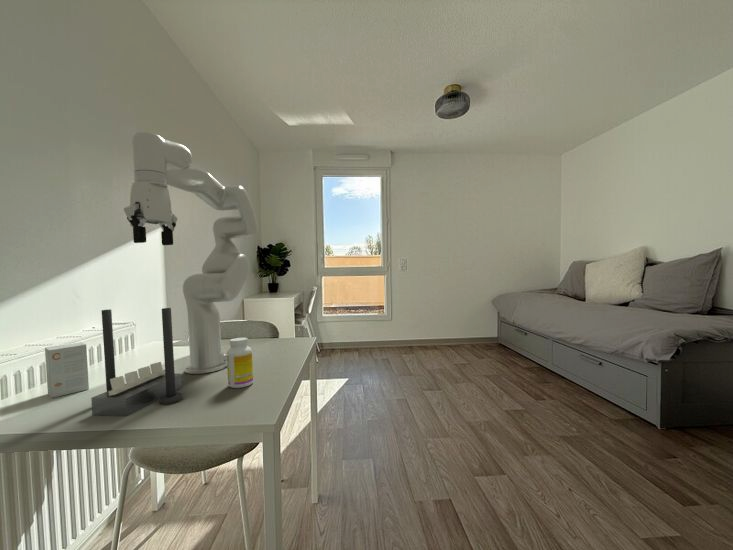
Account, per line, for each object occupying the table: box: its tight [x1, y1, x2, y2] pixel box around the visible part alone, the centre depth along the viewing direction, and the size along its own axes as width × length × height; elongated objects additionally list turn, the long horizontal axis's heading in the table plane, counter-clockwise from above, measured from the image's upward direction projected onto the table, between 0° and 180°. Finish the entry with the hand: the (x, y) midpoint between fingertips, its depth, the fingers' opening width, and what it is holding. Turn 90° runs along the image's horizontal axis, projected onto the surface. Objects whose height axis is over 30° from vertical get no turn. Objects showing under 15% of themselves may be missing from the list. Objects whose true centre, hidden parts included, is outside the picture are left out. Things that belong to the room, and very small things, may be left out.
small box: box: [44, 341, 90, 399], centre depth 94 cm, size 8×6×13 cm
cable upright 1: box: [101, 308, 117, 392], centre depth 86 cm, size 5×5×23 cm
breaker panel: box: [90, 373, 183, 417], centre depth 85 cm, size 18×9×4 cm, turn 171°
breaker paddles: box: [109, 361, 165, 396], centre depth 85 cm, size 16×2×4 cm, turn 171°
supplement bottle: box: [226, 337, 254, 389], centre depth 94 cm, size 7×7×13 cm
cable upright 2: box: [159, 307, 184, 406], centre depth 84 cm, size 5×5×23 cm
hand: (154, 243), depth 92 cm, fingers open, 9 cm apart
